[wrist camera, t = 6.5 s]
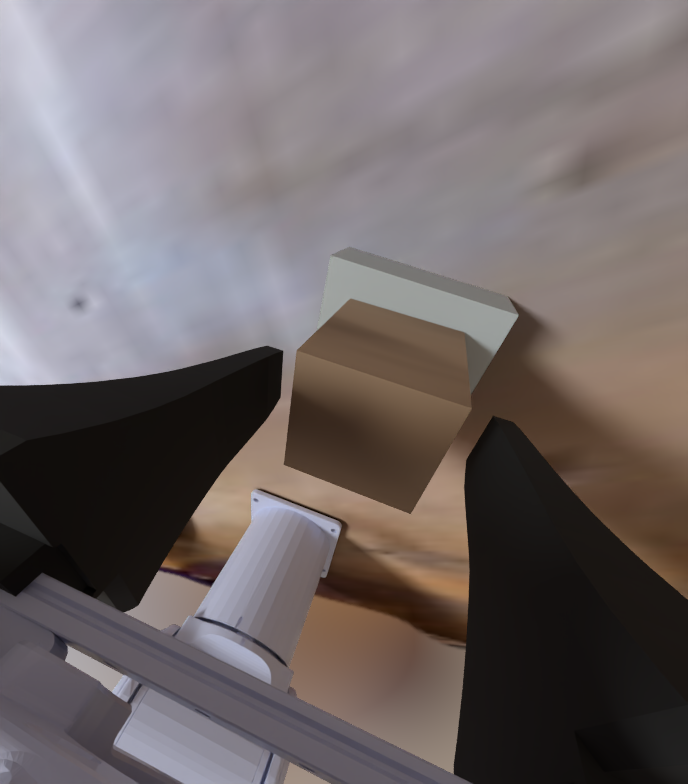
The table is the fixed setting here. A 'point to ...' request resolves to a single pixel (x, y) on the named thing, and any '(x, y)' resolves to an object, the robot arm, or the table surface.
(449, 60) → the table surface
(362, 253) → the grey block
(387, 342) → the walnut block
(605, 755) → the robot arm
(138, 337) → the table surface
